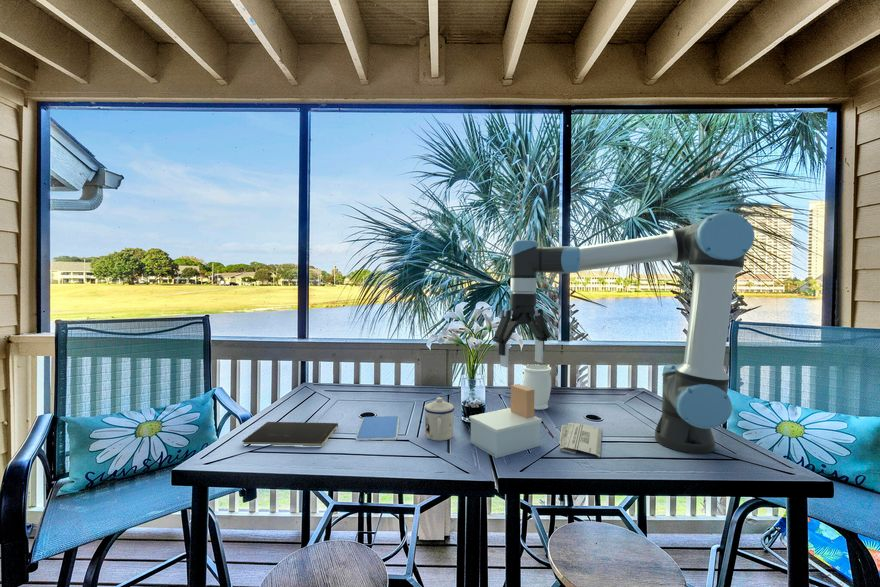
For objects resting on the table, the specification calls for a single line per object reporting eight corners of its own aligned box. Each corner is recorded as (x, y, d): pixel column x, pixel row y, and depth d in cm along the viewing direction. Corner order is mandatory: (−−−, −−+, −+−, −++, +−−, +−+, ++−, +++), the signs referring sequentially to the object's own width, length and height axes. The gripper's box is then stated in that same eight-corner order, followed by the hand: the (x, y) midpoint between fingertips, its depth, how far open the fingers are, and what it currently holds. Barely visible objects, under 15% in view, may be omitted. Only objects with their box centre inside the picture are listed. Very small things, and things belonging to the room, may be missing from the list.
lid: (541, 421, 116) (542, 391, 116) (496, 432, 108) (496, 400, 107) (512, 409, 127) (512, 381, 127) (469, 418, 118) (469, 389, 118)
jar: (554, 411, 147) (554, 370, 146) (525, 411, 147) (526, 370, 147) (547, 402, 158) (547, 364, 157) (520, 402, 158) (520, 364, 157)
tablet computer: (397, 441, 120) (397, 437, 120) (354, 442, 119) (354, 438, 119) (399, 419, 140) (399, 415, 140) (362, 420, 139) (362, 416, 139)
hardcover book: (321, 450, 114) (321, 442, 114) (242, 448, 115) (242, 440, 115) (338, 429, 130) (338, 422, 130) (268, 428, 131) (268, 421, 131)
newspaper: (561, 426, 133) (562, 419, 133) (601, 436, 129) (602, 428, 128) (552, 453, 112) (553, 444, 112) (599, 465, 108) (600, 456, 108)
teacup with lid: (425, 429, 128) (425, 393, 128) (453, 430, 128) (454, 393, 128) (423, 445, 116) (423, 405, 116) (454, 445, 116) (454, 405, 116)
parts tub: (540, 445, 116) (540, 421, 116) (496, 458, 108) (496, 432, 108) (512, 432, 127) (512, 410, 126) (470, 442, 119) (470, 419, 118)
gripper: (544, 292, 129) (543, 357, 130) (481, 292, 116) (480, 365, 117) (562, 292, 122) (561, 362, 123) (498, 293, 110) (496, 371, 111)
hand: (521, 364), depth 120 cm, fingers open, 13 cm apart
